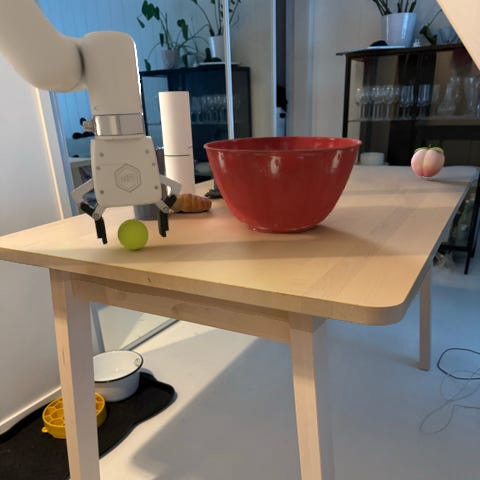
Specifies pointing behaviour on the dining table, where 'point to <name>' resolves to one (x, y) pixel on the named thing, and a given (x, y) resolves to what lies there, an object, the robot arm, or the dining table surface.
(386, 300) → the dining table surface
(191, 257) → the dining table surface
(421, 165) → the decorative fruit
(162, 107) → the cylindrical container
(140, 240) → the ball
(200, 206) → the pastry
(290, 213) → the mixing bowl
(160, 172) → the cup
